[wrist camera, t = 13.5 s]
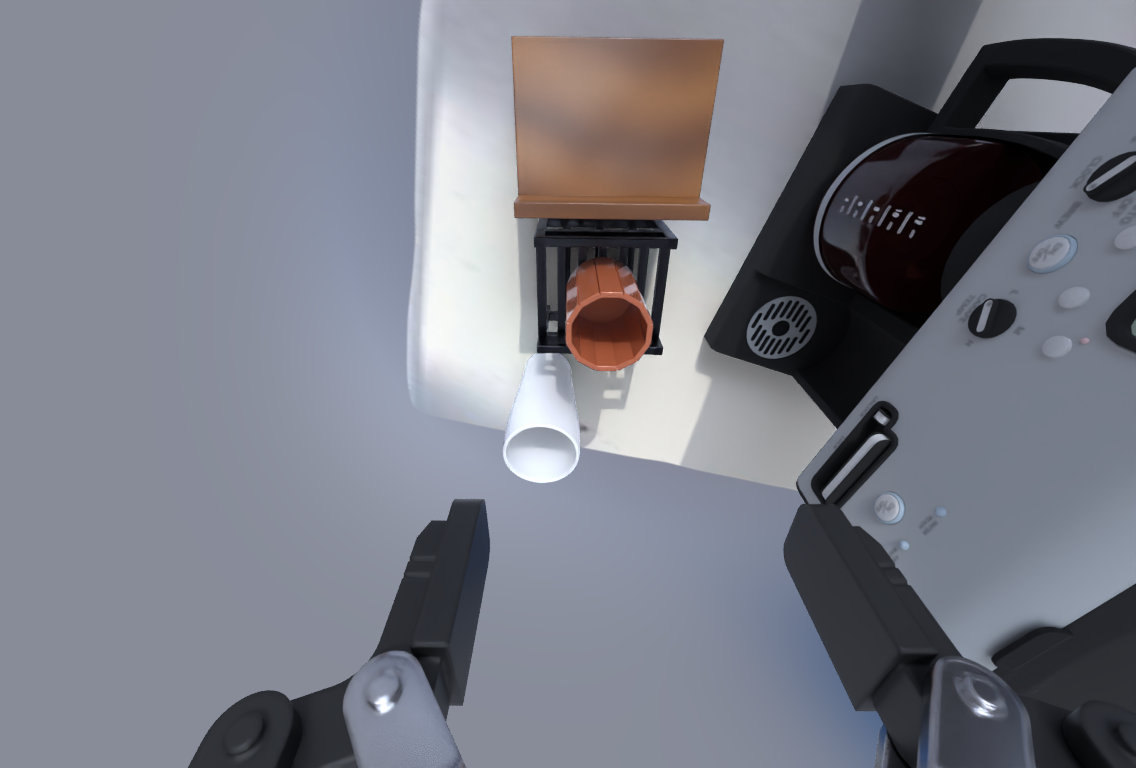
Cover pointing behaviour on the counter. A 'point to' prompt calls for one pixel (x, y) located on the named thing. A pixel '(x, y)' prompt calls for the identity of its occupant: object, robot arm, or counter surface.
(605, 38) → the wooden open box
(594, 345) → the cup
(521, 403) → the drinking glass
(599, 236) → the rack
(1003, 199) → the coffee maker
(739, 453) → the counter surface
